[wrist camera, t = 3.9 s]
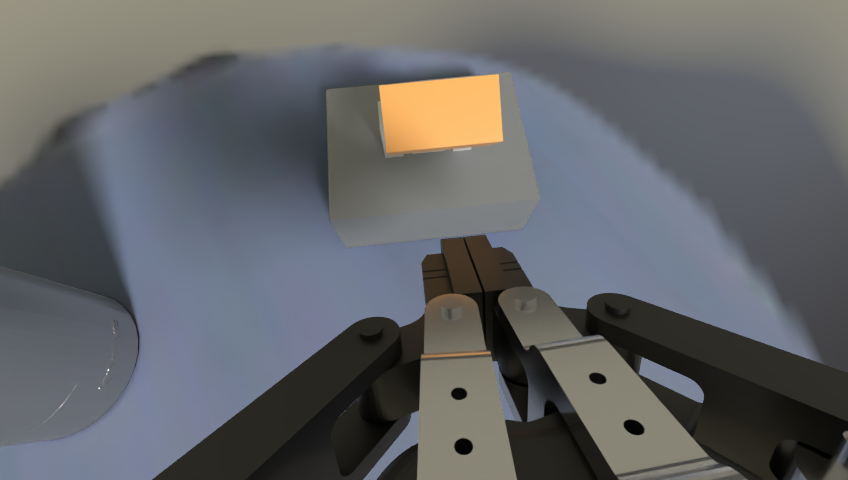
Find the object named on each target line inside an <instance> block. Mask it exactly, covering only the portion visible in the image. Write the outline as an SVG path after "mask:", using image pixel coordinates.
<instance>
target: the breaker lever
mask: <svg viewBox="0 0 848 480" xmlns="http://www.w3.org/2000/svg"><path fill="white" fill-rule="evenodd" d="M379 90H380V99H381V108H382V117H383V126H384V135H385V144H386V153H387V154H388V155H399V154H409V153H413V154H417V153H427V152H437V151H445V150H449V149H459V148H469V147H479V146H489V145H494V144H497V143H500V142H502V141H503V133H502V117H501V102H500V86H499V74H496V75H486V76H475V77H465V78H454V79H444V80H433V81H422V82H412V83H401V84H391V85H380V86H379Z"/></svg>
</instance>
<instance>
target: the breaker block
mask: <svg viewBox="0 0 848 480" xmlns="http://www.w3.org/2000/svg"><path fill="white" fill-rule="evenodd" d="M496 74H499V86H500V102H501V117H502V133H503V141H502V142H500V143H497V144H494V145H489V146H479V147H469V148H459V149H449V150H445V151H437V152H427V153H417V154H413V153H409V154H399V155H388V154H387V153H386V144H385V135H384V126H383V117H382V108H381V99H380V90H379V86H380V85H391V84H401V83H412V82H422V81H433V80H444V79H454V78H465V77H475V76H486V75H496ZM326 107H327V147H328V186H329V221H330V222H331V224H332V226H333V228H334V229H335V231H336V233H337V234H338V236H339V238H340V239H341V241H342V243H343V244H344V246H345V248H350V247H360V246H369V245H379V244H388V243H398V242H407V241H417V240H426V239H436V238H445V237H455V236H464V235H474V234H483V233H493V232H502V231H512V230H521V229H523V228H524V226H525V224H526V223H527V221H528V219H529V218H530V216H531V214H532V212H533V211H534V209H535V207H536V206H537V204H538V202H539V200H540V195H539V190H538V186H537V182H536V178H535V173H534V169H533V165H532V161H531V156H530V152H529V148H528V144H527V139H526V135H525V131H524V127H523V122H522V118H521V114H520V110H519V105H518V101H517V97H516V93H515V88H514V84H513V80H512V76H511V72H505V73H494V74H484V75H473V76H463V77H452V78H442V79H431V80H420V81H410V82H399V83H389V84H378V85H368V86H357V87H347V88H336V89H326Z"/></svg>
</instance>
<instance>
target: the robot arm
mask: <svg viewBox="0 0 848 480" xmlns="http://www.w3.org/2000/svg"><path fill="white" fill-rule="evenodd" d="M422 273H423V283H424V293H425V303H426V307H425V313H424V314H423V316H422V317H421V318H419V319H418V320H417V321H415V322H413V323H411V324H409V325H406V326H403V327H400V328H399V326H398V324H397V323H396V322H395V321H393V320H391V319H389V318H385V317H371V318H366V319H363V320H360V321H358V322H356V323H354V324H353V325H351V326H350V327H349V328H347V329H346V330H345V331H343V332H342V333H341V334H339V335H338V336H337V337H336V338H334V339H333V340H332V341H330V342H329V343H328V344H327V345H325V346H324V347H323V348H321V349H320V350H319V351H318V352H316V353H315V354H314V355H312V356H311V357H310V358H309V359H307V360H306V361H305V362H303V363H302V364H301V365H299V366H298V367H297V368H296V369H294V370H293V371H292V372H290V373H289V374H288V375H287V376H285V377H284V378H283V379H281V380H280V381H279V382H278V383H276V384H275V385H274V386H272V387H271V388H270V389H269V390H267V391H266V392H265V393H263V394H262V395H261V396H259V397H258V398H257V399H256V400H254V401H253V402H252V403H250V404H249V405H248V406H247V407H245V408H244V409H243V410H241V411H240V412H239V413H238V414H236V415H235V416H234V417H232V418H231V419H230V420H228V421H227V422H226V423H225V424H223V425H222V426H221V427H219V428H218V429H217V430H216V431H214V432H213V433H212V434H210V435H209V436H208V437H207V438H205V439H204V440H203V441H201V442H200V443H199V444H198V445H196V446H195V447H194V448H192V449H191V450H190V451H188V452H187V453H186V454H185V455H183V456H182V457H181V458H179V459H178V460H177V461H176V462H174V463H173V464H172V465H170V466H169V467H168V468H167V469H165V470H164V471H163V472H161V473H160V474H159V475H157V476H156V477H155V478H154V479H152V480H363V479H364V478H365V477H366V475H367V474H368V473H369V472H370V470H371V469H372V468H373V467H374V466H375V464H376V463H377V462H378V461H379V459H380V458H381V457H382V456H383V455H384V453H385V452H386V451H387V450H388V449H389V447H390V446H391V445H392V444H393V442H394V441H395V440H396V439H397V438H398V436H399V435H400V434H401V433H402V431H403V430H404V429H405V428H406V426H407V425H408V423H409V421H410V418H411V413H413V412H416V411H418V410H419V434H418V444H416V445H414V446H412V447H410V448H409V449H407V450H406V451H404V452H403V453H402V454H400V455H399V456H398V457H397V458H396V459H394V460H393V461H392V462H391V463H390V464H389V465H388V466H387V468H386V469H385V470H384V471H383V472H382V473H381V475H380V476H379V477H378V479H377V480H848V373H847V372H844V371H841V370H838V369H835V368H832V367H829V366H827V365H824V364H821V363H818V362H815V361H812V360H809V359H807V358H804V357H801V356H798V355H795V354H792V353H790V352H787V351H784V350H781V349H778V348H775V347H772V346H770V345H767V344H764V343H761V342H758V341H755V340H752V339H750V338H747V337H744V336H741V335H738V334H735V333H732V332H730V331H727V330H724V329H721V328H718V327H715V326H712V325H710V324H707V323H704V322H701V321H698V320H695V319H692V318H690V317H687V316H684V315H681V314H678V313H675V312H673V311H670V310H667V309H664V308H661V307H658V306H655V305H653V304H650V303H647V302H644V301H641V300H638V299H635V298H633V297H630V296H626V295H622V294H616V293H603V294H598V295H595V296H593V297H591V298H590V299H589V300H588V302H587V309H576V308H566V307H560V306H558V305H557V304H556V303H555V302H554V300H553V299H552V298H551V297H550V295H549V294H547V293H546V292H544V291H542V290H540V289H537V288H533V286H532V285H531V283H530V281H529V280H528V278H527V276H526V275H525V273H524V271H523V270H522V269H521V266H520V265H519V263H518V262H517V260H516V258H515V256H514V255H513V253H511V252H510V251H508V250H506V249H505V248H503V247H499V248H492V247H491V245H490V243H489V241H488V239H487V237H486V235H478V236H468V237H463V238H462V237H459V238H449V239H441V254H431V255H427V256H426V257H425V259H424V260H423V261H422ZM137 355H138V336H137V331H136V326H135V324H134V322H133V320H132V318H131V315H130V314H129V313H128V312H127V310H126V309H125V308H124V307H123V306H122V305H121V304H119V303H118V302H116V301H115V300H113V299H111V298H108V297H105V296H102V295H99V294H96V293H93V292H89V291H86V290H82V289H79V288H75V287H72V286H68V285H65V284H61V283H58V282H55V281H52V280H48V279H45V278H41V277H38V276H34V275H31V274H27V273H24V272H20V271H17V270H14V269H10V268H7V267H3V266H0V447H3V446H10V445H18V444H25V443H32V442H39V441H46V440H54V439H59V438H63V437H66V436H69V435H72V434H75V433H77V432H78V431H80V430H82V429H84V428H86V427H88V426H90V425H91V424H92V423H94V422H95V421H96V420H97V419H99V418H100V417H101V416H103V415H104V414H105V413H106V412H107V411H108V410H109V409H110V408H111V406H112V405H113V404H114V403H115V402H116V401H117V400H118V398H119V397H120V395H121V394H122V392H123V391H124V389H125V388H126V386H127V384H128V382H129V380H130V378H131V375H132V373H133V371H134V367H135V363H136V359H137ZM642 357H644V358H646V359H648V360H650V361H653V362H655V363H657V364H659V365H662V366H664V367H666V368H668V369H671V370H673V371H675V372H677V373H680V374H682V375H684V376H686V377H688V378H690V379H692V380H693V381H695V382H696V383H697V384H698V385H699V386H700V387H701V389H702V391H703V393H704V401H703V403H699V402H696V401H694V400H692V399H690V398H687V397H685V396H683V395H681V394H679V393H677V392H675V391H673V390H671V389H669V388H667V387H664V386H662V385H660V384H658V383H656V382H654V381H652V380H650V379H648V378H646V377H644V376H641V375H639V370H640V364H641V359H642ZM493 361H497V362H498V365H499V383H500V386H501V388H502V391H503V393H504V395H505V398H506V400H507V403H508V405H509V407H510V410H511V412H512V414H513V417H514V419H515V421H512V420H505V419H504V414H503V409H502V404H501V400H500V395H499V390H498V385H497V380H496V375H495V370H494V366H493ZM356 399H357V400H356ZM355 400H356V401H355ZM354 401H355V402H354ZM353 402H354V403H353ZM352 403H353V404H352ZM351 404H352V405H351ZM350 405H351V406H350ZM349 406H350V407H349ZM348 407H349V408H348ZM347 408H348V409H347ZM346 409H347V410H346ZM345 410H346V411H345ZM344 411H345V412H344ZM343 412H344V413H343ZM342 413H343V414H342ZM341 414H342V415H341ZM340 415H341V416H340Z"/></svg>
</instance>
